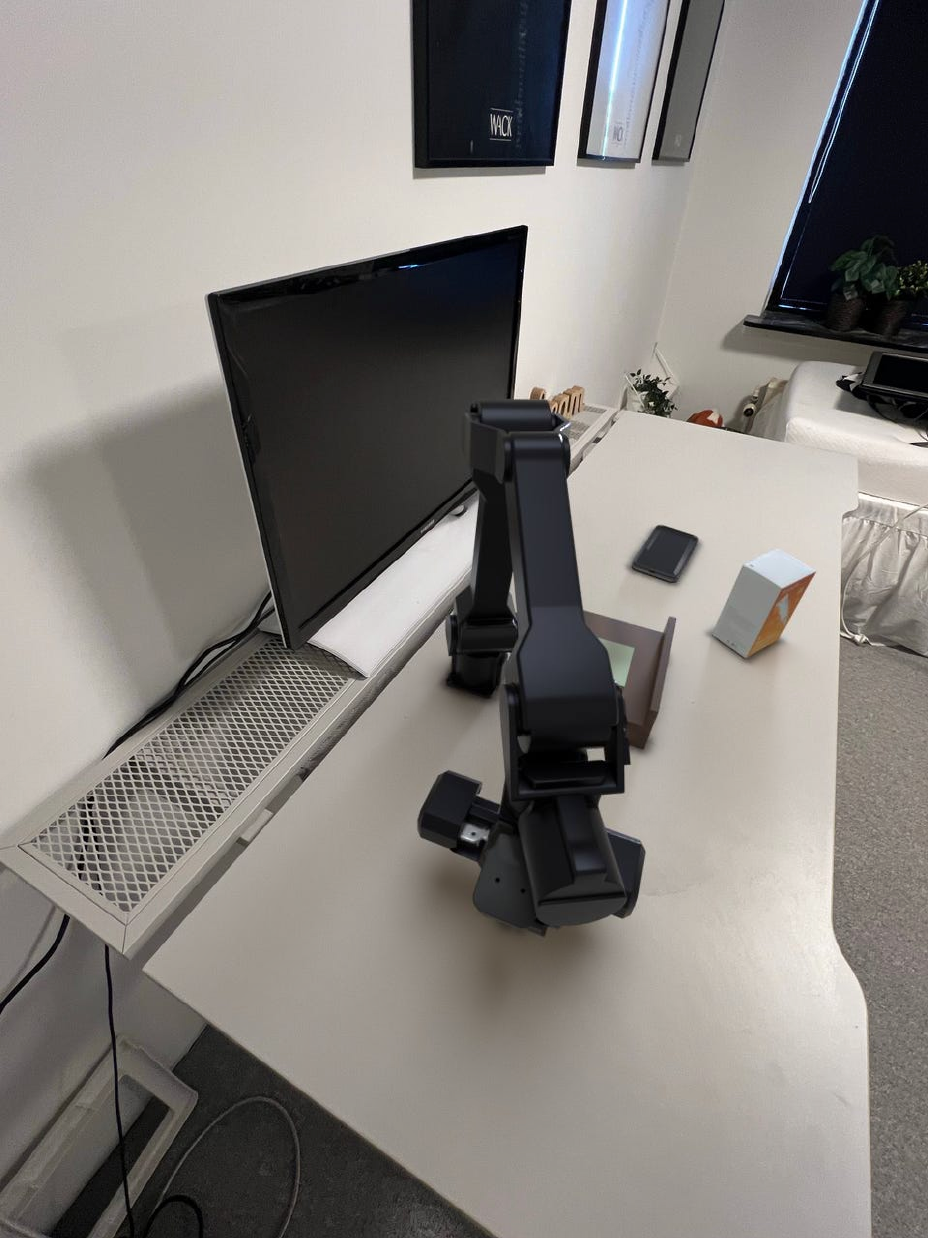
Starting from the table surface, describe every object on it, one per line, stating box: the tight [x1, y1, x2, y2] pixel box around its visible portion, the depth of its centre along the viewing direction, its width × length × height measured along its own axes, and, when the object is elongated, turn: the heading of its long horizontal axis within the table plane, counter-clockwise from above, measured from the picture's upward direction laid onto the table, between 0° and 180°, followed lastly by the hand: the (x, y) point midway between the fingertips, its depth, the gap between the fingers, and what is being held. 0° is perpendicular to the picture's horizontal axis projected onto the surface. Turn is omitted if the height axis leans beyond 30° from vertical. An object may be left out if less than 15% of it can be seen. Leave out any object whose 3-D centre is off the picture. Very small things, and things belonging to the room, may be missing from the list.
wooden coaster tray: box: [583, 609, 677, 750], centre depth 78 cm, size 14×18×7 cm
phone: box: [631, 524, 699, 583], centre depth 104 cm, size 8×1×15 cm
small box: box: [711, 548, 817, 659], centre depth 84 cm, size 8×6×13 cm
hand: (518, 884), depth 56 cm, fingers closed on supplement bottle, 5 cm apart
